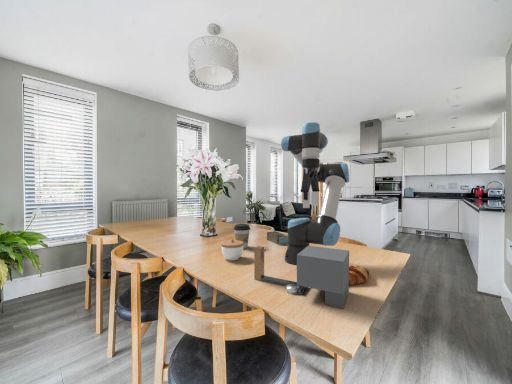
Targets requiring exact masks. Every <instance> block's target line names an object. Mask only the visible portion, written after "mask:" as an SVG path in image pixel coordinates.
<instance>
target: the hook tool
mask: <svg viewBox="0 0 512 384" xmlns="http://www.w3.org/2000/svg"><path fill="white" fill-rule="evenodd" d="M253 249H254V251H253V253H254V256H253V257H254V264H253V265H254V267H253V268H254V269H253V270H254V271H253V272H254V275H253V276H254V280H256V281H260V282H265V283H269V284H270V283H271V284H275V285H280V286H284V287H286V285H288V284H296V285H297V281H294V280H293V281H292V280H289V279H285V278H284V279H283V278H278V277H274V276H273V277H272V276H268V275H265V246H259V245H257V246H255V247H253ZM298 286H299V285H298ZM306 288H307V287H304V286H299V289H298V294H297V295H299V296H301V295H302V294H303V292H304V291H306Z"/></svg>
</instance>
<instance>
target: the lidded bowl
mask: <svg viewBox="0 0 512 384" xmlns="http://www.w3.org/2000/svg"><path fill="white" fill-rule="evenodd" d="M243 245H244V242H242V241H239V240H235V239H234V238H231V239H229V240H224V241H221V243H220V246H221V253H222V256H223V257H224V258H225V259H226V260H227V261H238V260H239V259H240V257H241V256H242V255H243V252H244V249H243Z"/></svg>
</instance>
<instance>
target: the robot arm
mask: <svg viewBox="0 0 512 384" xmlns="http://www.w3.org/2000/svg"><path fill="white" fill-rule="evenodd" d="M320 127H321V126H320V123H318V122H315V121H314V122H306V123H304V124H303V125H302V128H301V129H302V130H301V134H294V135H287V136H283V137H282V138H281V141H280V146H281V149H282V150H283V152H290V153H291V154H292V155H293V156H294V158H295V159H296V160H297V162H298V163H299V164H300V166H301V167H302V168H303V172H302V173H303V175H302V181H301V188H300V193H302V208H303V209H310V207H311V206H316V207H317V206H319V205H318V200H319V198H318V194H319V192H320V188H319V183H325V184H326V186H325V191H324V195H323V198H322V202H321V208H320V211H319V214H318V215H317V216H316V217H315V219H314V221H312V220H311V219H310V218H309V217H299V218H291V219H290V220H288V223H287V236H288V244H287V247H286V251H285V253H284V262H285V263H288V264H291V265H296V266H297V254H299V253H300V252H301V251H302V250H303V249H305V248H306V247H307V246H310V244H311V245H313V244H314V245H321V246H324V247H326V246H330V247H333V246H335V245H337V243H338V241H339V239H340V235H341V225H340V223H339V222H338V220H337V214H338V208H339V203H340V198H341V193H342V188H344V187H345V186H346V184H347V183H349V182H350V171H349V165H348V164H347V163H345V162H342V163H341V162H339V163H323V164H321V163H320V162H321V161H320V160H321V159H320V153H321V152H322V150H323V149H325V148H326V147H327V145H328V143H329V140H328V137H327V136H326V134H324V133H323V132H321V128H320ZM310 188H311V191H310ZM310 192H311V193H310ZM310 195H311V196H310ZM310 199H311V200H310ZM310 203H311V204H310ZM310 205H311V206H310ZM310 220H311V221H310Z"/></svg>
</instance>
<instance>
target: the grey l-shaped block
mask: <svg viewBox="0 0 512 384" xmlns="http://www.w3.org/2000/svg"><path fill="white" fill-rule="evenodd" d="M349 266H350V250H347V249H341V248H332V247H325V246H324V247H323V246H316V245H309V246H307V247H306V248H305V249H303V250H302V251H301V252H300V253H299V254H297V265H296V282H297V285H299V286H304V287H306V288H309V289H313V290H320V291H324V293H325V294H324V305H325V306H331V307H333V308H334V307H335V308H338V309H343V310H344V309H345V305H346V302H347V299H348V296H349V292H350V291H349V288H350V286H349Z"/></svg>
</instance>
